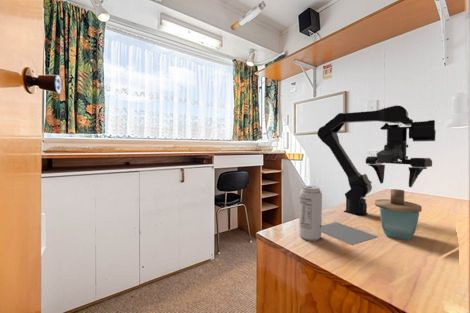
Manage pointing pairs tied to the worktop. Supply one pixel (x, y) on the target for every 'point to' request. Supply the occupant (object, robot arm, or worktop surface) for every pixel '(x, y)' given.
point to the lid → (398, 203)
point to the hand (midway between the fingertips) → (395, 185)
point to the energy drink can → (310, 213)
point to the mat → (346, 233)
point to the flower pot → (399, 223)
